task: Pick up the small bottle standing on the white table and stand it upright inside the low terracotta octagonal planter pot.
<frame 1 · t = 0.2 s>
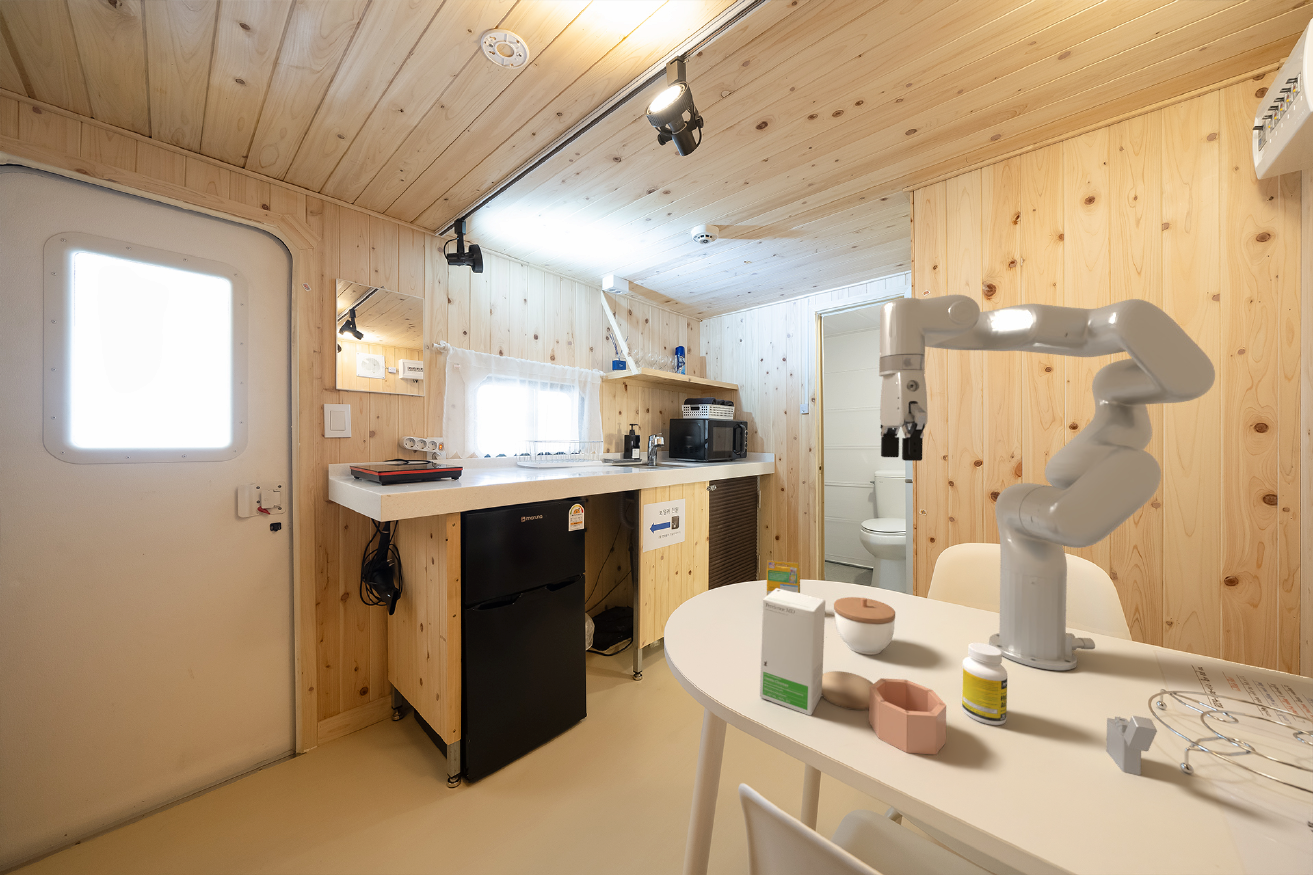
hand: (900, 458, 86), 36 cm above the table, tool pointing down, fingers open, 9 cm apart
terracotta octagonal planter pot: (906, 731, 63), on the table
skincare box: (792, 698, 72), on the table
lidded jar: (863, 648, 88), on the table
supplement bottle: (983, 716, 67), on the table
crayon box: (783, 610, 106), on the table
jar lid: (847, 692, 73), on the table
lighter: (1129, 771, 56), on the table
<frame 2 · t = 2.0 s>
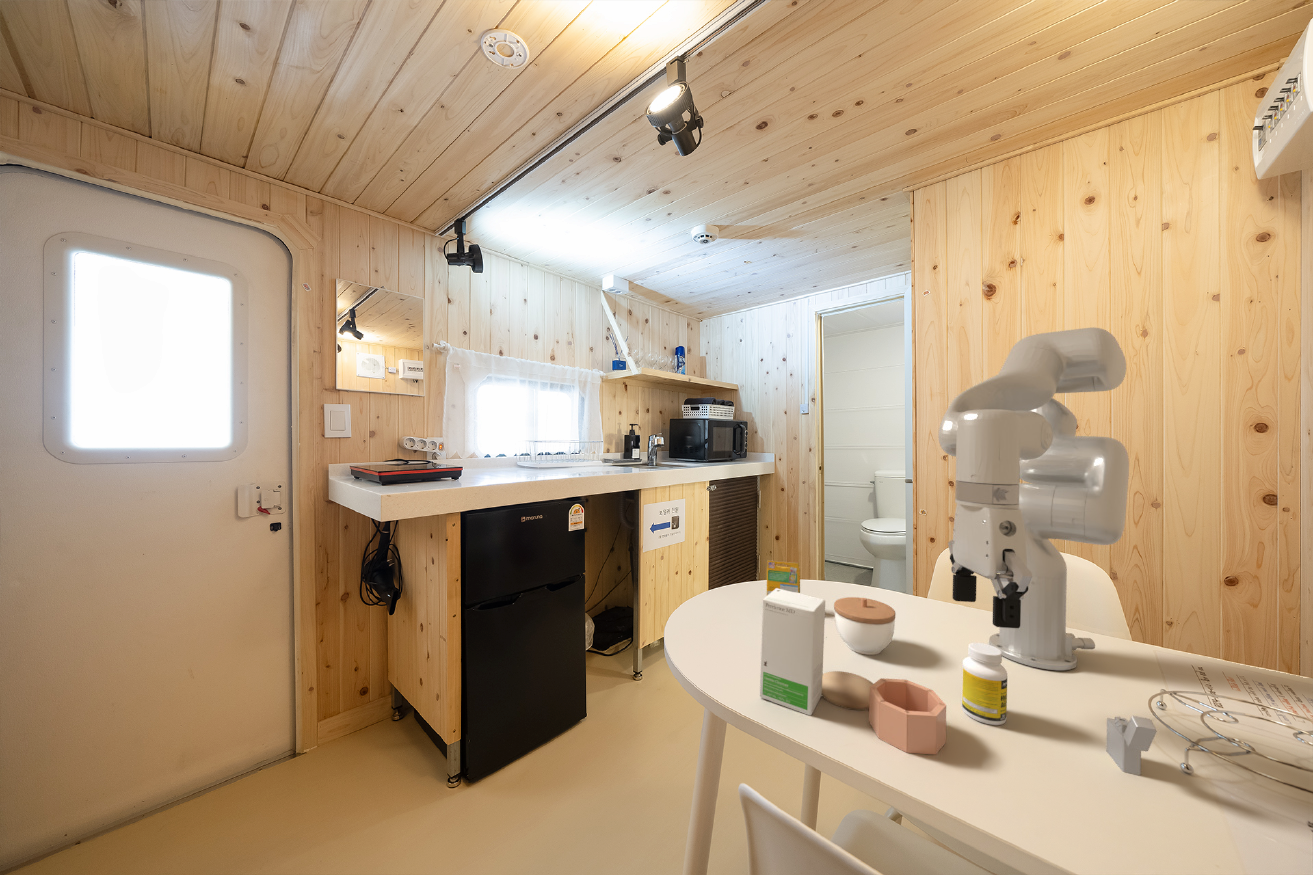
hand: (983, 612, 66), 15 cm above the table, tool pointing down, fingers open, 9 cm apart
nothing on the table moved.
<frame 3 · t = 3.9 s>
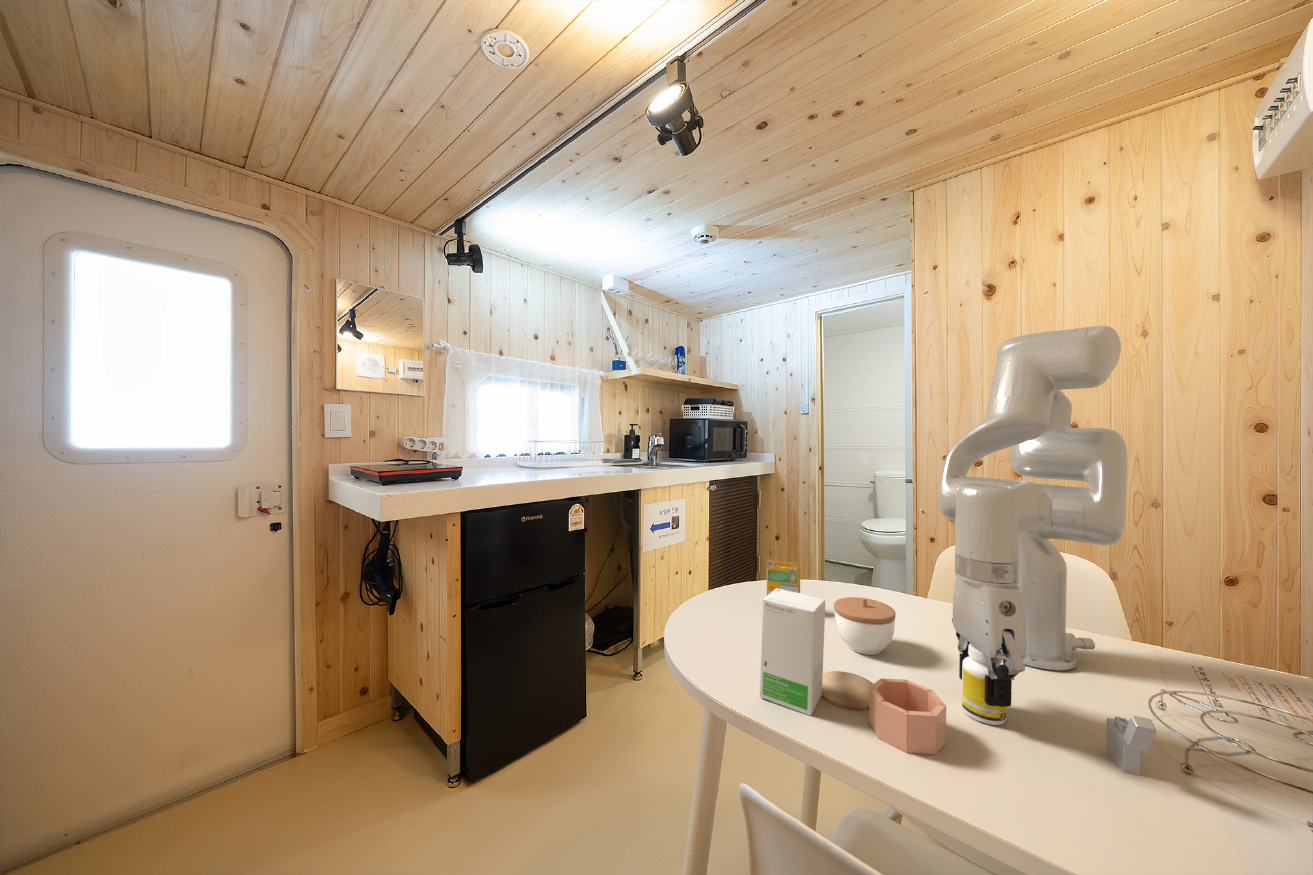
hand: (983, 690, 67), 4 cm above the table, tool pointing down, fingers closed on supplement bottle, 5 cm apart
supplement bottle: (983, 715, 67), on the table, touching gripper
everything else where it was.
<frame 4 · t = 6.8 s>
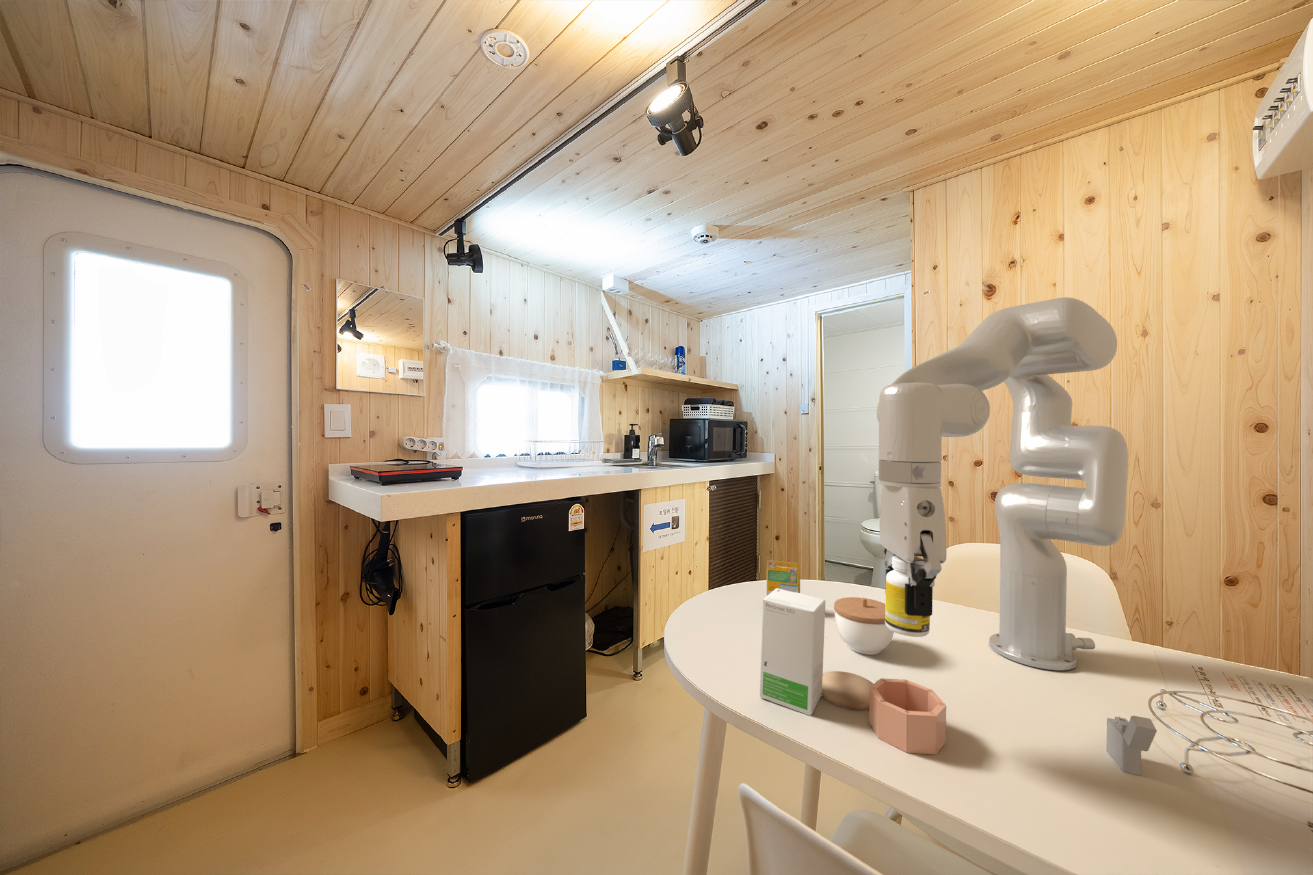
hand: (907, 604, 63), 18 cm above the table, tool pointing down, fingers closed on supplement bottle, 5 cm apart
supplement bottle: (907, 630, 63), point 14 cm above the table, touching gripper
everything else where it was.
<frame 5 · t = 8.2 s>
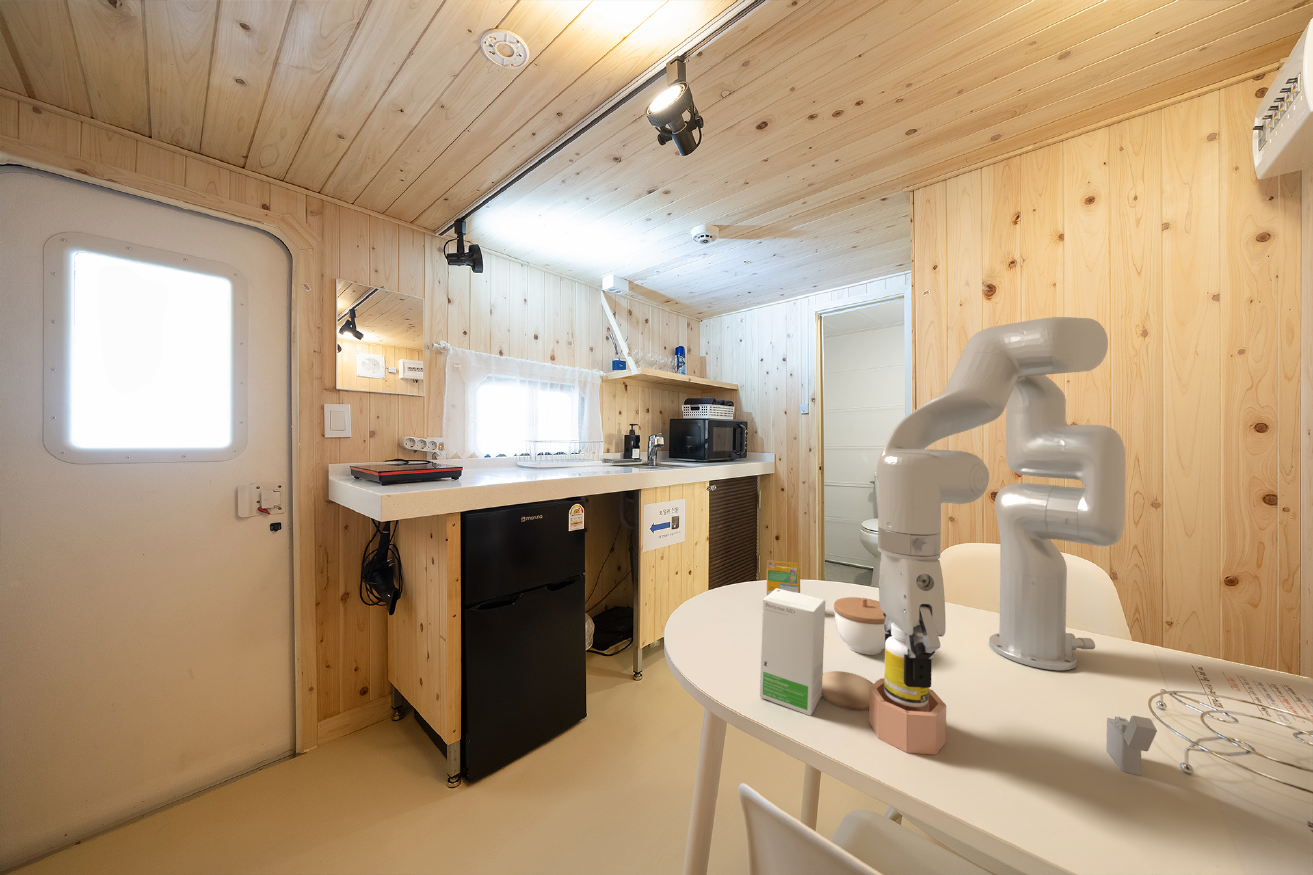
hand: (906, 672, 63), 8 cm above the table, tool pointing down, fingers closed on supplement bottle, 5 cm apart
supplement bottle: (906, 698, 63), point 5 cm above the table, touching gripper
everything else where it was.
when the fingers open (6 cm above the table, at t = 9.6 s): supplement bottle drops 2 cm, resting on terracotta octagonal planter pot.
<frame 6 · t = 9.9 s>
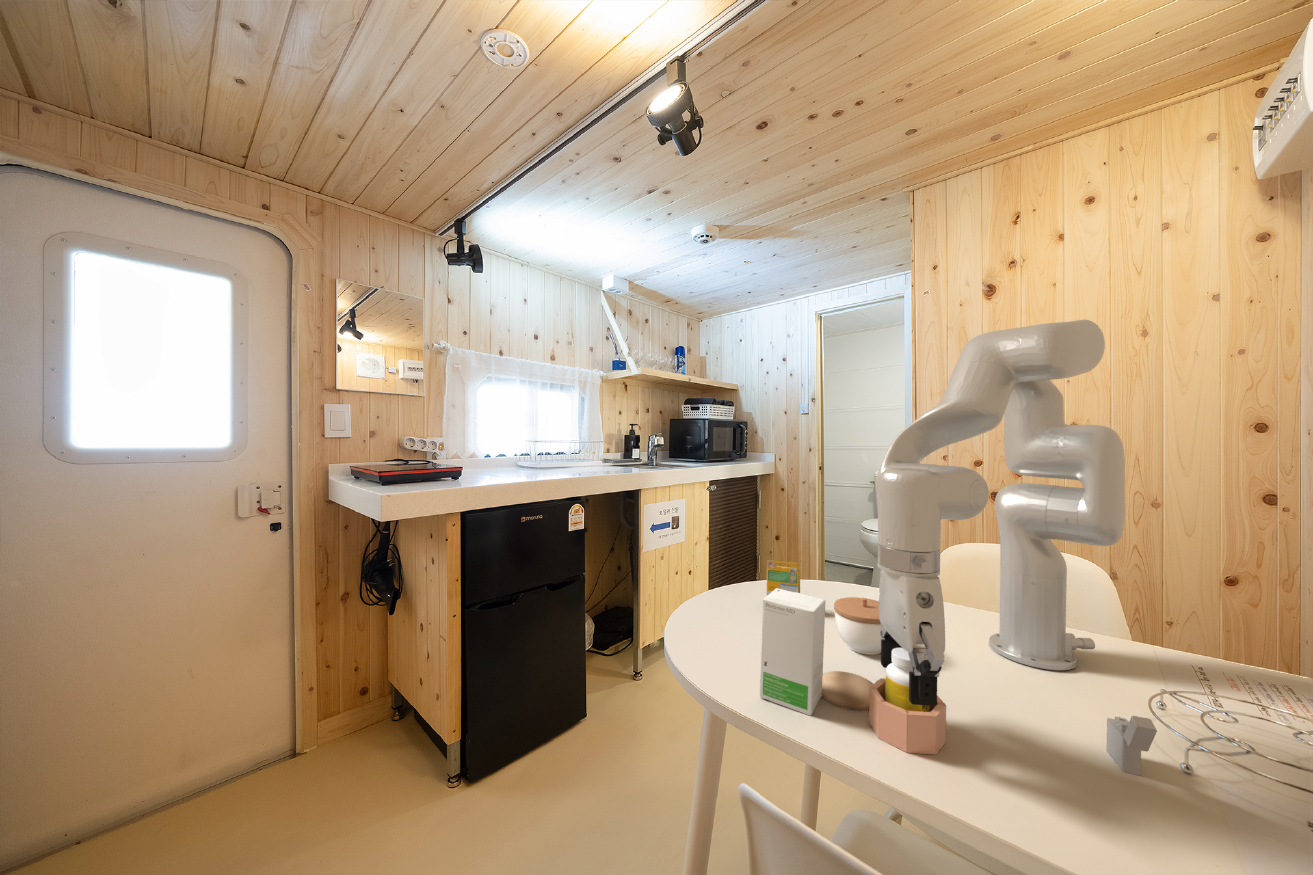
hand: (906, 683, 63), 7 cm above the table, tool pointing down, fingers open, 8 cm apart
supplement bottle: (907, 725, 64), point 1 cm above the table, touching terracotta octagonal planter pot
everything else where it was.
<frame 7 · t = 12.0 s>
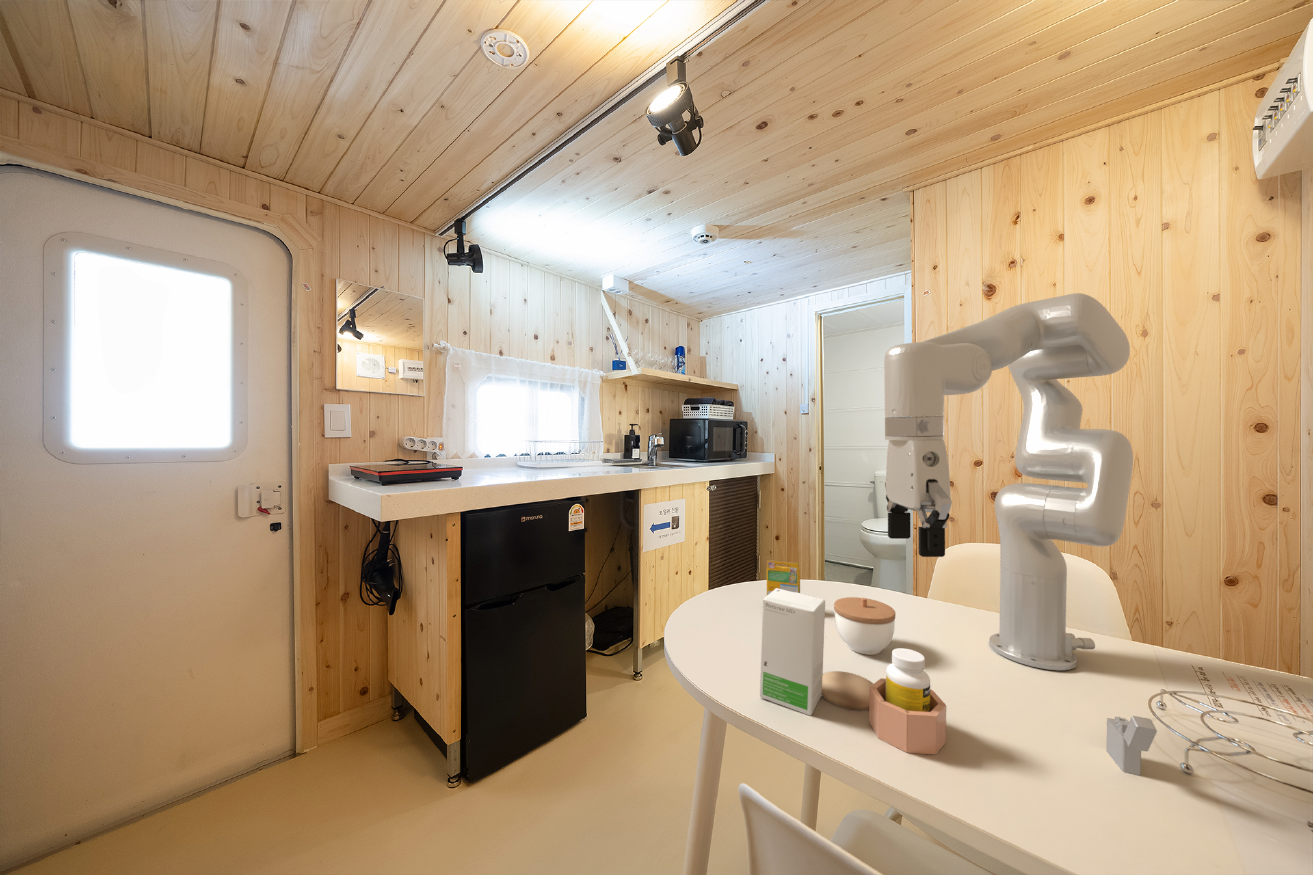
hand: (914, 546, 67), 25 cm above the table, tool pointing down, fingers open, 9 cm apart
nothing on the table moved.
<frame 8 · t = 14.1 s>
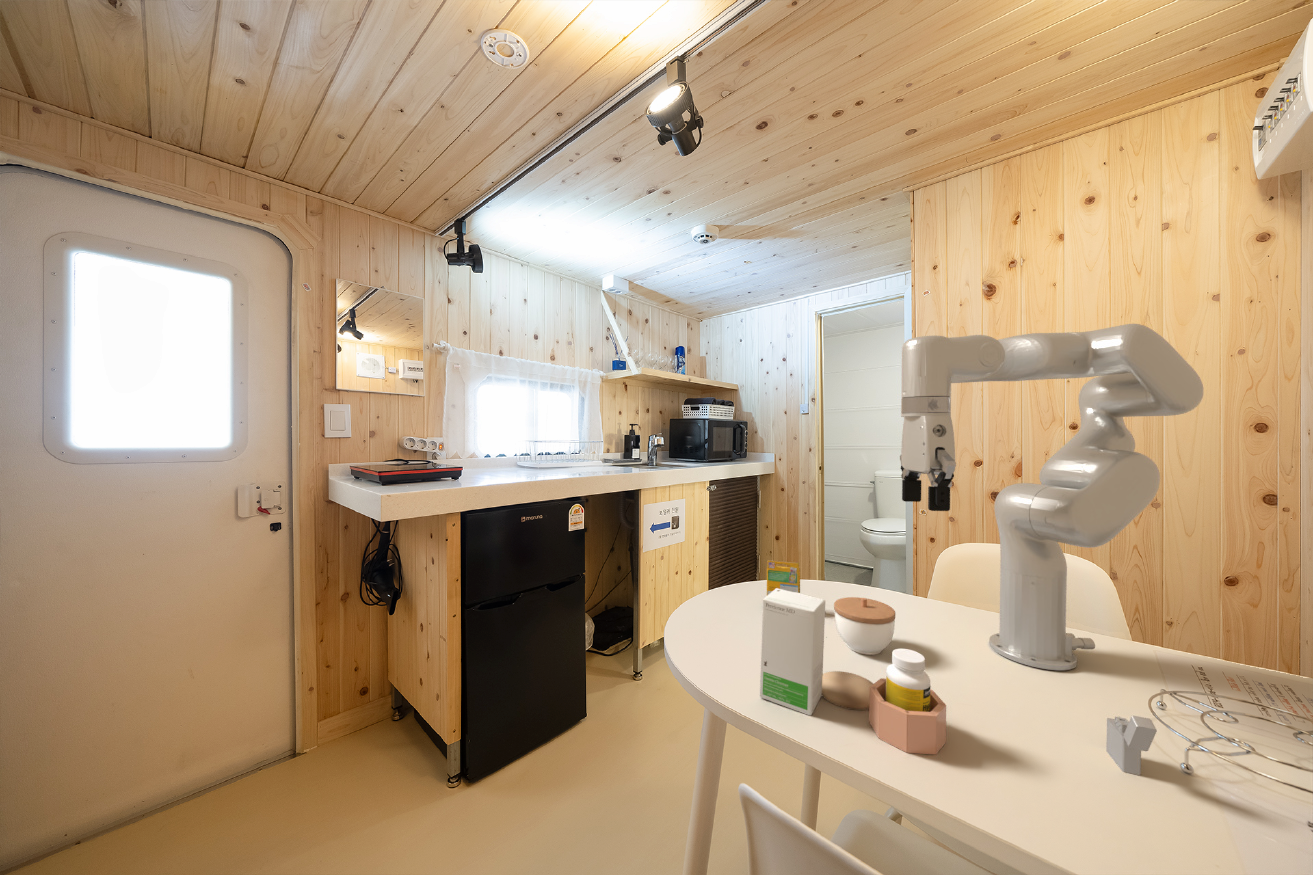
hand: (924, 505, 81), 28 cm above the table, tool pointing down, fingers open, 9 cm apart
nothing on the table moved.
at the end: supplement bottle 0.3 cm off-centre on the terracotta octagonal planter pot, point 0.6 cm above the terracotta octagonal planter pot's base; supplement bottle tilted 1°; the gripper is holding nothing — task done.
